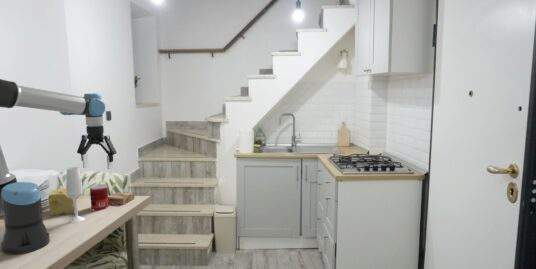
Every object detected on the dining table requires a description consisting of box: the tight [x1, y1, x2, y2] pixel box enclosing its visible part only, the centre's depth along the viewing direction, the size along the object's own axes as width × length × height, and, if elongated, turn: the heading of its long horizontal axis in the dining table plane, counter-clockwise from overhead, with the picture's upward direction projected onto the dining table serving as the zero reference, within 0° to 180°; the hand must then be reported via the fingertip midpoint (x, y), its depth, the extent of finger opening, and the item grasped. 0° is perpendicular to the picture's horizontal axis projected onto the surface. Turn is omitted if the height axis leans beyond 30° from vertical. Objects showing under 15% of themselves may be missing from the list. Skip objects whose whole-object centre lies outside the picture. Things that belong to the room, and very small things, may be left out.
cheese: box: [48, 188, 75, 216], centre depth 167 cm, size 10×11×10 cm
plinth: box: [108, 192, 135, 206], centre depth 182 cm, size 10×10×3 cm
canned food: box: [89, 183, 109, 211], centre depth 172 cm, size 8×8×11 cm
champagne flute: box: [65, 166, 86, 224], centre depth 154 cm, size 7×7×24 cm
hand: (97, 168), depth 170 cm, fingers open, 13 cm apart
